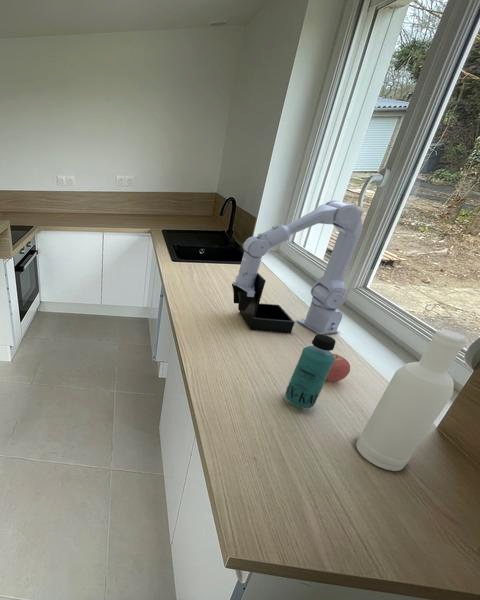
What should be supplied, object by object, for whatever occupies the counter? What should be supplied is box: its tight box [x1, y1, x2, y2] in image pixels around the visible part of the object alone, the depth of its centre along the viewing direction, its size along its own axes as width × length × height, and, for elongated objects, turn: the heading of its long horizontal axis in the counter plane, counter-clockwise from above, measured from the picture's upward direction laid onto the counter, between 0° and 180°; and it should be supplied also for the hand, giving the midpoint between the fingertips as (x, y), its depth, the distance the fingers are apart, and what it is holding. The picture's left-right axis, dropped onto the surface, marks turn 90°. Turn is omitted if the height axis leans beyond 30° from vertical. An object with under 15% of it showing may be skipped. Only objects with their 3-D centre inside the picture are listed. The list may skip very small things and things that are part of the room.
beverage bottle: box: [284, 333, 336, 410], centre depth 77 cm, size 6×7×20 cm
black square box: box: [238, 302, 296, 334], centre depth 118 cm, size 13×13×5 cm
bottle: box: [355, 329, 468, 472], centre depth 61 cm, size 8×8×30 cm
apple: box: [326, 353, 351, 382], centre depth 89 cm, size 7×7×8 cm
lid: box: [237, 272, 266, 318], centre depth 115 cm, size 14×13×4 cm
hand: (239, 306), depth 117 cm, fingers closed on lid, 5 cm apart
